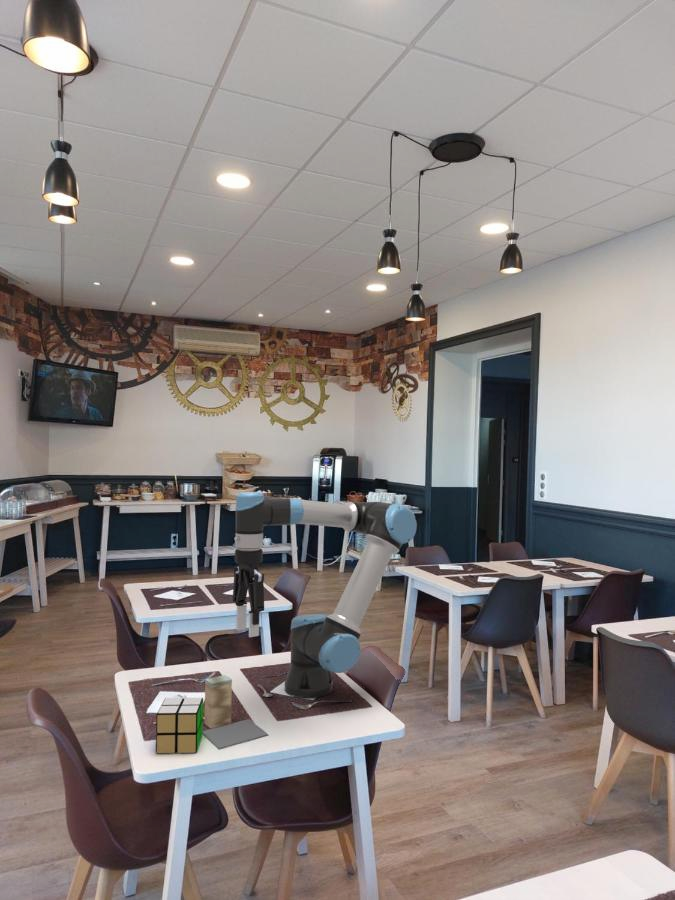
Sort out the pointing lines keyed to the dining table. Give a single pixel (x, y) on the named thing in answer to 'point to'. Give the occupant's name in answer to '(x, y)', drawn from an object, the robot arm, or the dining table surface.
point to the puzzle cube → (179, 725)
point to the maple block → (218, 701)
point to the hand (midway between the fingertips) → (247, 632)
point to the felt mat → (234, 734)
